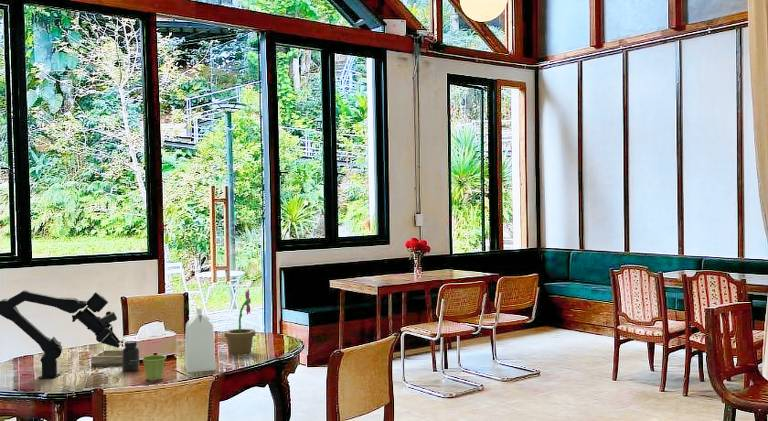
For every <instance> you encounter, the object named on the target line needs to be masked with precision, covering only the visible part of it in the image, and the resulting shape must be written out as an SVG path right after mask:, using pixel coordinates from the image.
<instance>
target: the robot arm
mask: <svg viewBox="0 0 768 421" xmlns="http://www.w3.org/2000/svg"><path fill="white" fill-rule="evenodd" d="M23 302H29V303H33V304H38V305H44V306H48V307H53V308H56V309H58V310H61V311H63V312H66V313H68V314H72V315H71V318H72V321H71V322H72V323H74V322H75V321H77V320H78V321H79V322H80V323H81V324H82V325H84V326H85V327H86V329H87V330H88V331H90V332H92V333H93V334H94V336H95V340H96V341H97V342H98V343H101V344H104V345H108V346H112V347H114V348H119V347H121V345H120V343H121V341H120V339H119V337H117V335H116V334H115V333H114V330H113V328H114V327H113V325H112V324H111V323H112V322H115V321H117V320H118V316H117V315H116V313H115V311H112V312H111V311H110V310H108V311H106V312H105V315H103V317H100V316H97V315H95V314H96V313H100V312H101V311H102V310H103V309H104V308H105V307H106V305H108V304H109V301H108V300H107V299H106V298H105V297H104V296H102V295H100V294H99V293H98V292H96V291H95V292H94V293H93V294H92V296H91V297H90V298H89V299H87V301H86V300H79V299H78V298H76V297H58V296H57V297H56V296H53V295H49V294H42V293H37V292H34V291H33V292H32V291H30V290H25V289H24V290H22V291H21V292H19V293H17V294H16V295H14V296H12V297H9V298H3V299H1V300H0V316H2V317H3V318H4V319H6V320H9V321H11V322H12V323H14V324H15V325H16V326H17V327H18V328H20V329H21V330H22V331H23V332H24V333H25V334H26V335H28V336H29V337H30V338H31V339H32V340H33V341H34V342H35V343H37V344H38V346H39V347H40V349H41V350H42V352H43V353H44V354H43V355H41V358H40V362H41V375H40V376H38V377H37V378H38V379H55V378H57V377H58V376H61V373H58V361H57V359H59V357H60V356H61V355H62V353H63V346H62V345H61V344H62V342H60V341H59V340H57V338H56V337H55V336H52V338H50V337H48V336H46V335H45V334H44V333H43V332H42V331H40V329H38V328H37V327H36V326H35V325H34V324H33V323H32V322H30V321H29V320H28V319H27V318H26V317H25V316H23V315H22V314H21V312H20V311H19V309H18V307H17V306H18V305H20V304H22V303H23ZM82 309H83V310H82Z"/></svg>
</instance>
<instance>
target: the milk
mask: <svg viewBox="0 0 768 421" xmlns="http://www.w3.org/2000/svg"><path fill="white" fill-rule="evenodd" d="M202 313H203V312H202V308H201V307H200V306H196V311H195V314H194V315H192V317H190V319H188V320H187V322H186V323H185V339H184V340H185V343H184V368H185V371H186V373H195V372H196V373H197V372H206V371H207V372H208V371H215V370H216V357H215V356H216V354H215V335H214V325H213V323H212V322H211V321H210V317H208V316H207V315H206V314H204V315H203V314H202Z"/></svg>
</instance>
